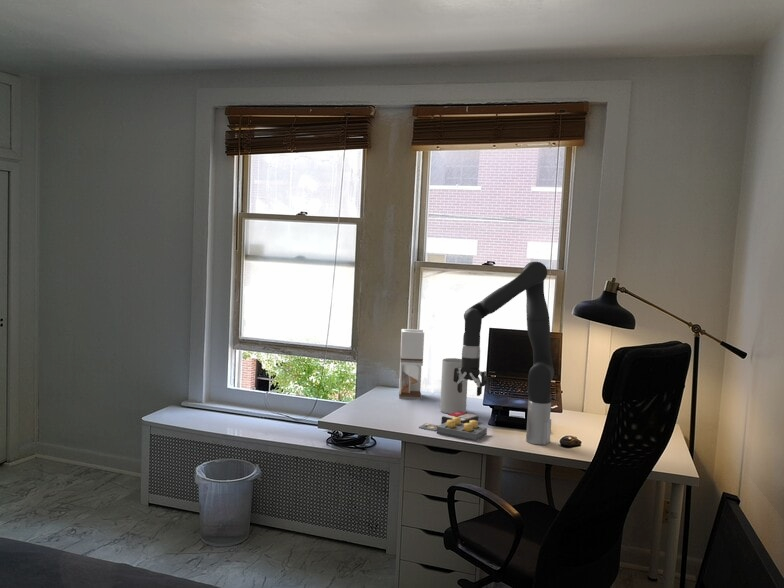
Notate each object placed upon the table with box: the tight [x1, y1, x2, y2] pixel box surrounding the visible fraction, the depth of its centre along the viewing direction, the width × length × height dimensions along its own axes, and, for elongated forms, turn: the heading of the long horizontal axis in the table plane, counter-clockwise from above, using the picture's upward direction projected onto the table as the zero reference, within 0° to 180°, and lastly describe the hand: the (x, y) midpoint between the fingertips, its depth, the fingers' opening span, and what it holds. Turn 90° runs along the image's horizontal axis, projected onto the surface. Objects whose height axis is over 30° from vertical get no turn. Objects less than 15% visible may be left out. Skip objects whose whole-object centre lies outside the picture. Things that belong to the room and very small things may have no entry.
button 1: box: [447, 420, 455, 429], centre depth 278 cm, size 4×4×3 cm
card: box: [418, 422, 439, 432], centre depth 286 cm, size 8×7×1 cm
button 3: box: [464, 423, 473, 432], centre depth 274 cm, size 4×4×3 cm
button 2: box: [452, 417, 461, 426], centre depth 282 cm, size 4×4×3 cm
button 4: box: [469, 420, 479, 429], centre depth 278 cm, size 4×4×3 cm
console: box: [436, 422, 488, 442], centre depth 278 cm, size 18×12×3 cm, turn 60°
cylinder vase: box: [439, 357, 469, 415], centre depth 314 cm, size 12×12×25 cm
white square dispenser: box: [398, 328, 425, 401], centre depth 341 cm, size 11×11×35 cm
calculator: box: [440, 411, 479, 425], centre depth 296 cm, size 11×4×15 cm
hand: (469, 394), depth 273 cm, fingers open, 8 cm apart
